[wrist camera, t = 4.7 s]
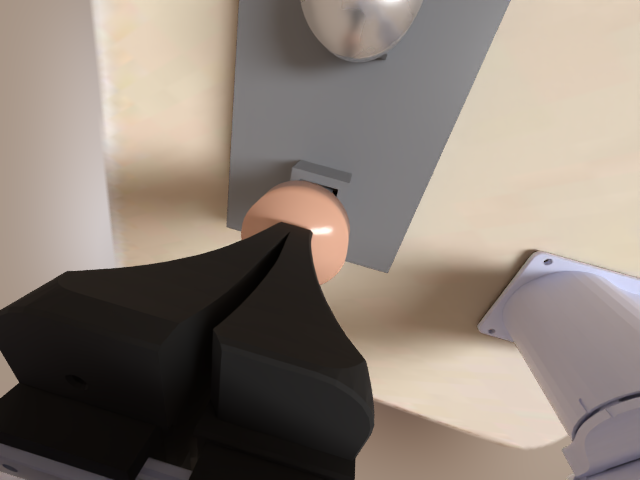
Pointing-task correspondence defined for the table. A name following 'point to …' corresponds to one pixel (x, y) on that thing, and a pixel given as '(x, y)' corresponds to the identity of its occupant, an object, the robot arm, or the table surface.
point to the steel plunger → (360, 25)
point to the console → (352, 113)
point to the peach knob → (305, 221)
